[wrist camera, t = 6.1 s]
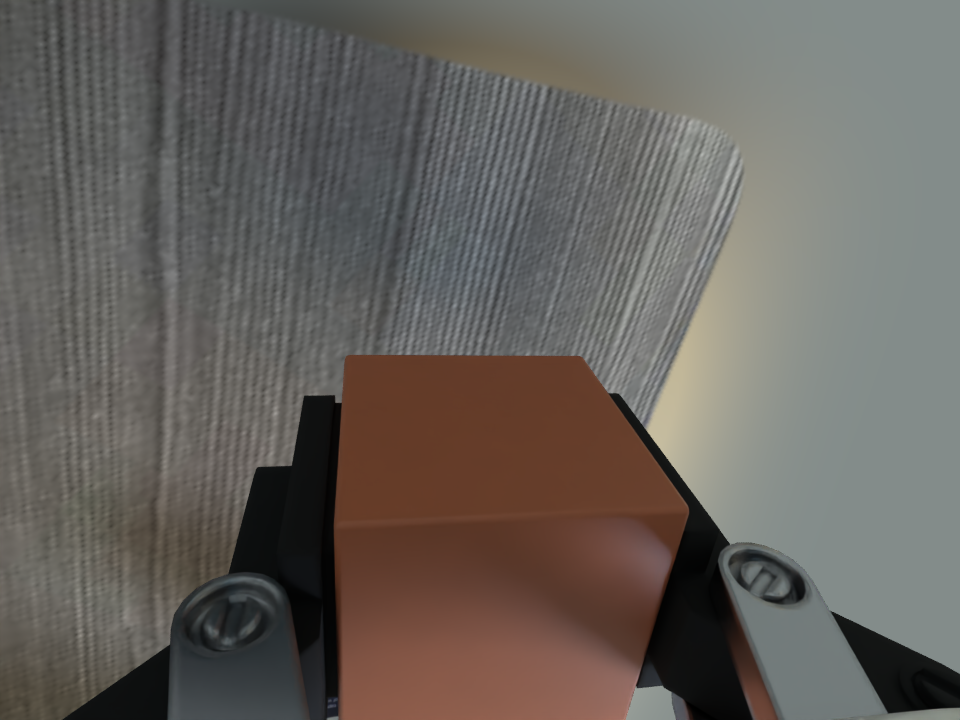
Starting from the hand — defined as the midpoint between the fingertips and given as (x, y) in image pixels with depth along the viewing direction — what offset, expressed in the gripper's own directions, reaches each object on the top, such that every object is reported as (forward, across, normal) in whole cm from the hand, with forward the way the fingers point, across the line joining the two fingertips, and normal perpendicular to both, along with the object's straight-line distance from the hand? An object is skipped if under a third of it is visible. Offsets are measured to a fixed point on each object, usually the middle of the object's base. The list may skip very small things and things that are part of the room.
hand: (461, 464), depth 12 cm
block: (0, 0, 0) cm, 0 cm away
